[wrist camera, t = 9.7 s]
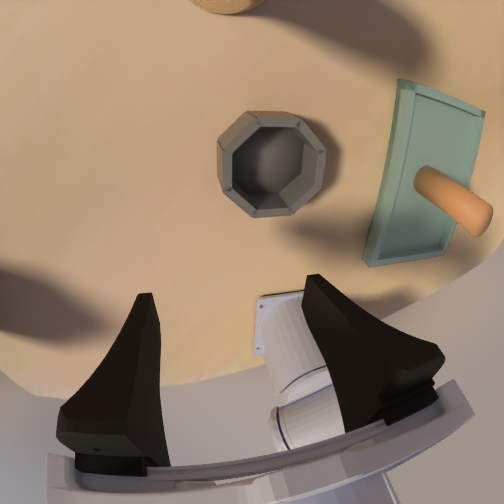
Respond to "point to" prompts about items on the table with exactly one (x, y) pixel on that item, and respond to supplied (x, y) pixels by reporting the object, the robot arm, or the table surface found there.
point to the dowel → (454, 200)
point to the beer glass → (227, 5)
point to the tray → (407, 165)
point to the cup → (270, 163)
